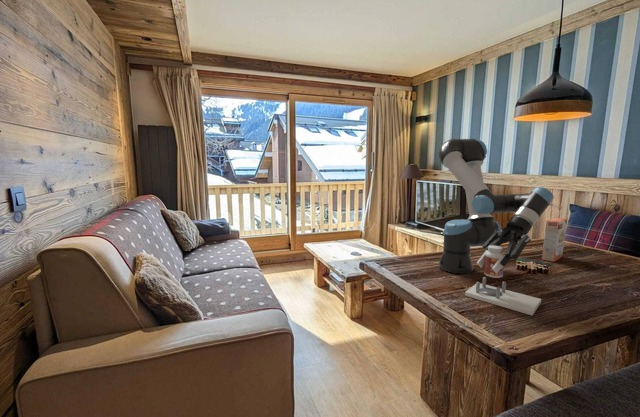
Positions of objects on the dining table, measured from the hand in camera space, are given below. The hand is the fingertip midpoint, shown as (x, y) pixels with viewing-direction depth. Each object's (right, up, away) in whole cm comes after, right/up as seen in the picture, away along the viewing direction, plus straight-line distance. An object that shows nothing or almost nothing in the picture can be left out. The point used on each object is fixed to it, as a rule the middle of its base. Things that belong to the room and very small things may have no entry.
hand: (486, 267), depth 114 cm
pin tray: (+6, -12, +1) cm, 13 cm away
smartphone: (+46, -6, +40) cm, 61 cm away
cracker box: (+60, -4, +47) cm, 76 cm away
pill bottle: (+3, -3, +2) cm, 5 cm away
